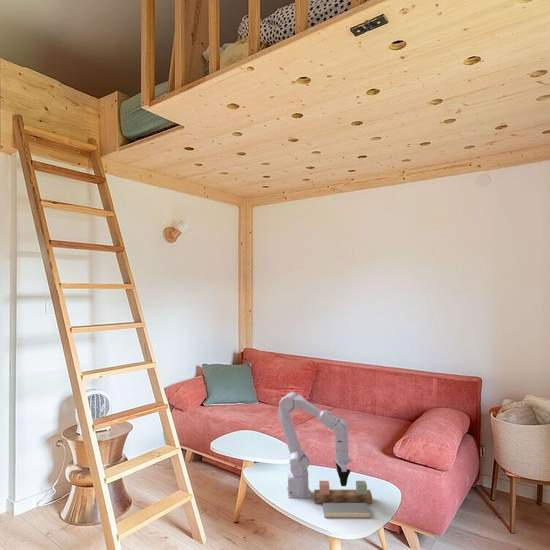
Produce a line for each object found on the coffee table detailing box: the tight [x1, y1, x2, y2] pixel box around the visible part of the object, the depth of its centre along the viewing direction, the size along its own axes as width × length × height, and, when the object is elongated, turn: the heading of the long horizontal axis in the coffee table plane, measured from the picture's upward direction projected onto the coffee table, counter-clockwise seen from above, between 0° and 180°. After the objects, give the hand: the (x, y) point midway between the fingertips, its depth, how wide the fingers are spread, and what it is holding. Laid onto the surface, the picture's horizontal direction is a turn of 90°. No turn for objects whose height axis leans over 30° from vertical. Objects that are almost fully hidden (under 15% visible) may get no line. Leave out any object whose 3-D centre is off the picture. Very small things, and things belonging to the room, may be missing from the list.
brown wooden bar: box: [314, 489, 373, 505], centre depth 172 cm, size 24×5×4 cm, turn 88°
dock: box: [322, 503, 371, 518], centre depth 163 cm, size 18×7×2 cm, turn 88°
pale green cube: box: [355, 480, 368, 495], centre depth 172 cm, size 4×4×4 cm
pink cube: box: [318, 480, 331, 495], centre depth 173 cm, size 4×4×4 cm
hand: (342, 481), depth 172 cm, fingers open, 7 cm apart
